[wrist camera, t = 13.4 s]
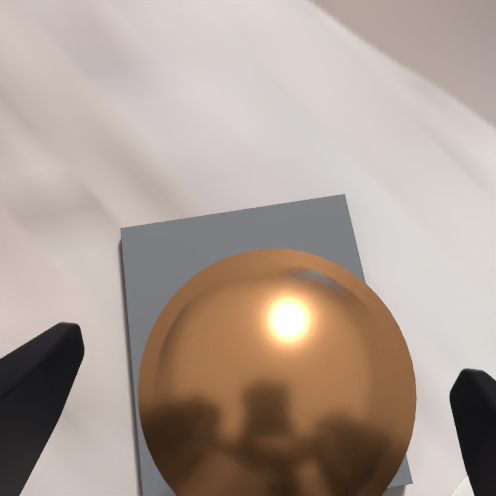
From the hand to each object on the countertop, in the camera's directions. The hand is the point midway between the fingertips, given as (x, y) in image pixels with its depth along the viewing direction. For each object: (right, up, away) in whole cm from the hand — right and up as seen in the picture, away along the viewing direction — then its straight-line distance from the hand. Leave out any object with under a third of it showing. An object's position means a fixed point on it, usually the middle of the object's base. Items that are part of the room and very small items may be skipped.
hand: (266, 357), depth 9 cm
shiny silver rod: (0, -2, +9) cm, 10 cm away
